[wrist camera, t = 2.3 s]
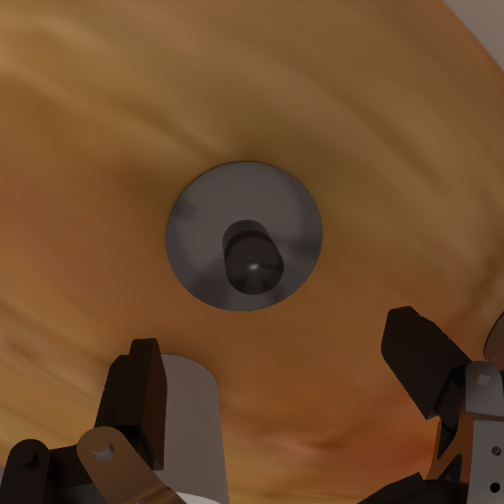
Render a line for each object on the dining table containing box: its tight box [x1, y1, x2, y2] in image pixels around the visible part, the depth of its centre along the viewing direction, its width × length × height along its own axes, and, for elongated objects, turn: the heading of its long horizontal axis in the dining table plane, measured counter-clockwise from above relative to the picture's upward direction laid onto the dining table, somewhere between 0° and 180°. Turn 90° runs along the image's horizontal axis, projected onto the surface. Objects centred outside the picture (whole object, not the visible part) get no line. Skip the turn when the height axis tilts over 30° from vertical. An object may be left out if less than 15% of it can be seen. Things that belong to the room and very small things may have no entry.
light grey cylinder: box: [153, 354, 229, 504], centre depth 20 cm, size 8×8×12 cm
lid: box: [166, 161, 322, 311], centre depth 19 cm, size 10×10×5 cm
